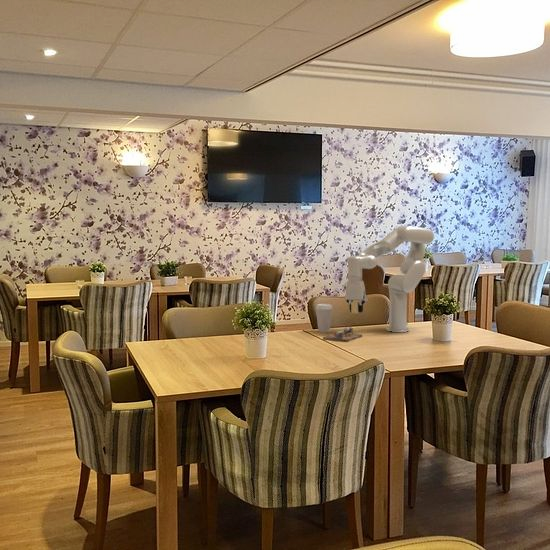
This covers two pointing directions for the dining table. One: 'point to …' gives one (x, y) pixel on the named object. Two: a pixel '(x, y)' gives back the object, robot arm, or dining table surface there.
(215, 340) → the dining table surface
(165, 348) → the dining table surface
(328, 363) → the dining table surface
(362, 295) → the robot arm
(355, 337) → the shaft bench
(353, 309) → the coupler
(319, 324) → the coffee cup
